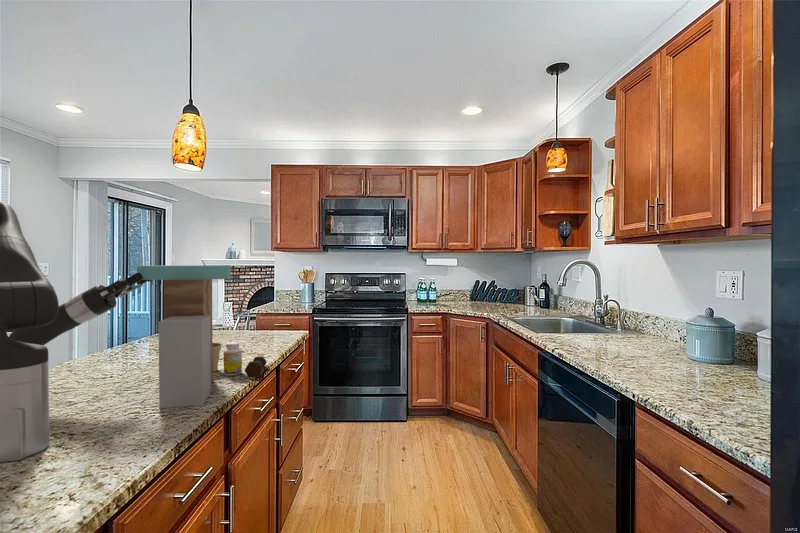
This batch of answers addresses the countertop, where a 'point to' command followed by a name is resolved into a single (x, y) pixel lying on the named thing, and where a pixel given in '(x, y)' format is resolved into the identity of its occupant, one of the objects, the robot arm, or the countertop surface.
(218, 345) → the flower pot
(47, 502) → the countertop surface
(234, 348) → the supplement bottle
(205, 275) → the teal bar
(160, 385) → the grey block
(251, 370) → the hex dumbbell
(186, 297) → the walnut stand
